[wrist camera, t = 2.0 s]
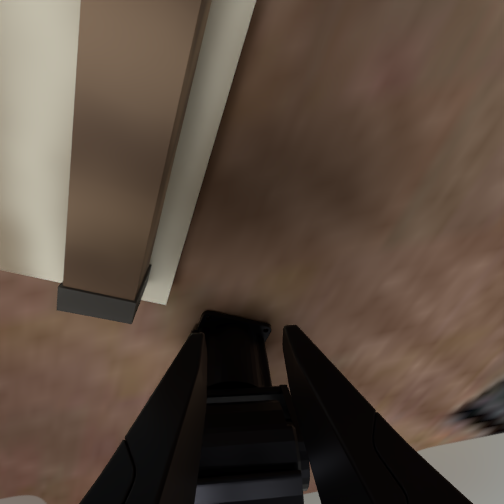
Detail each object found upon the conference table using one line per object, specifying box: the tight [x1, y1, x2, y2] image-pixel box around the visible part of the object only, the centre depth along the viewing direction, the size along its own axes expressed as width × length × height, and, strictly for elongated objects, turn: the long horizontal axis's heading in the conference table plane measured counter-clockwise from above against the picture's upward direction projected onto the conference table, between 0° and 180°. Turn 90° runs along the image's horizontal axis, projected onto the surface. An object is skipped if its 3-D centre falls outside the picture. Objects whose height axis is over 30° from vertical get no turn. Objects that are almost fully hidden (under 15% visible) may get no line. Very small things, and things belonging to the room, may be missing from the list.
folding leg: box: [57, 0, 212, 324], centre depth 12 cm, size 19×4×5 cm, turn 159°
